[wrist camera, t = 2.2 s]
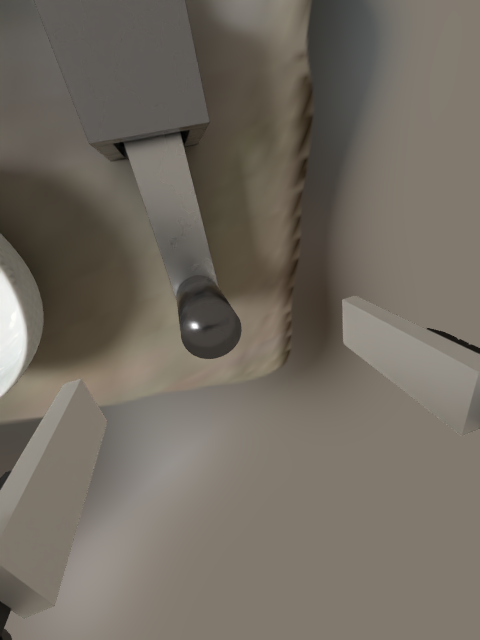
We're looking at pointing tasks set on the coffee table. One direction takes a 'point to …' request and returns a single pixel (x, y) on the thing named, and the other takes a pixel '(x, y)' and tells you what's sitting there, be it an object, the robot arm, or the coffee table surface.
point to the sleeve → (128, 69)
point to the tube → (183, 244)
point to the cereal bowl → (17, 316)
